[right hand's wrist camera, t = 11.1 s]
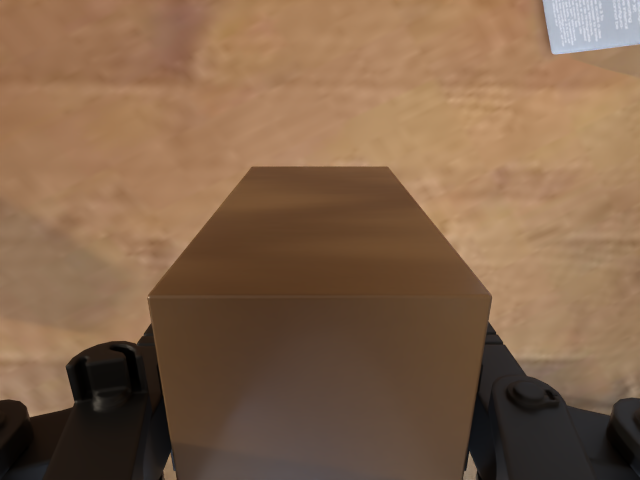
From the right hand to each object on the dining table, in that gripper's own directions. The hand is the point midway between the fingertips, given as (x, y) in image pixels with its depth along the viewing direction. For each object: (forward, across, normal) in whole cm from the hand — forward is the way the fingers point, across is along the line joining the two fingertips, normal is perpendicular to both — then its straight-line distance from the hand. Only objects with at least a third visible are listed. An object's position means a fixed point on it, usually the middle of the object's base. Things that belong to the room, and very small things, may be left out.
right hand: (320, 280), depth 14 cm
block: (+1, 0, 0) cm, 1 cm away
